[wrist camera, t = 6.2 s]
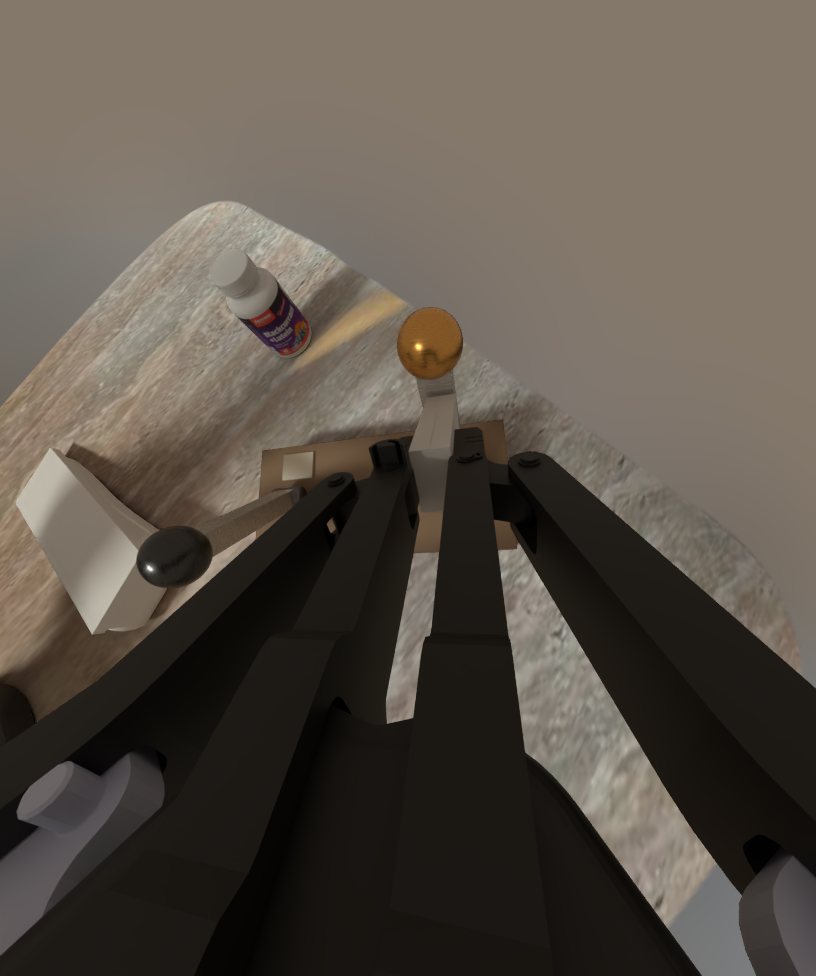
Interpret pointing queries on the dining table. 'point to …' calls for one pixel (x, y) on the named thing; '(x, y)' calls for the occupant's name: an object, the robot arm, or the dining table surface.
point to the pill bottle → (261, 303)
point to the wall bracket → (90, 544)
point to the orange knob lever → (431, 351)
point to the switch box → (354, 457)
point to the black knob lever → (207, 539)
